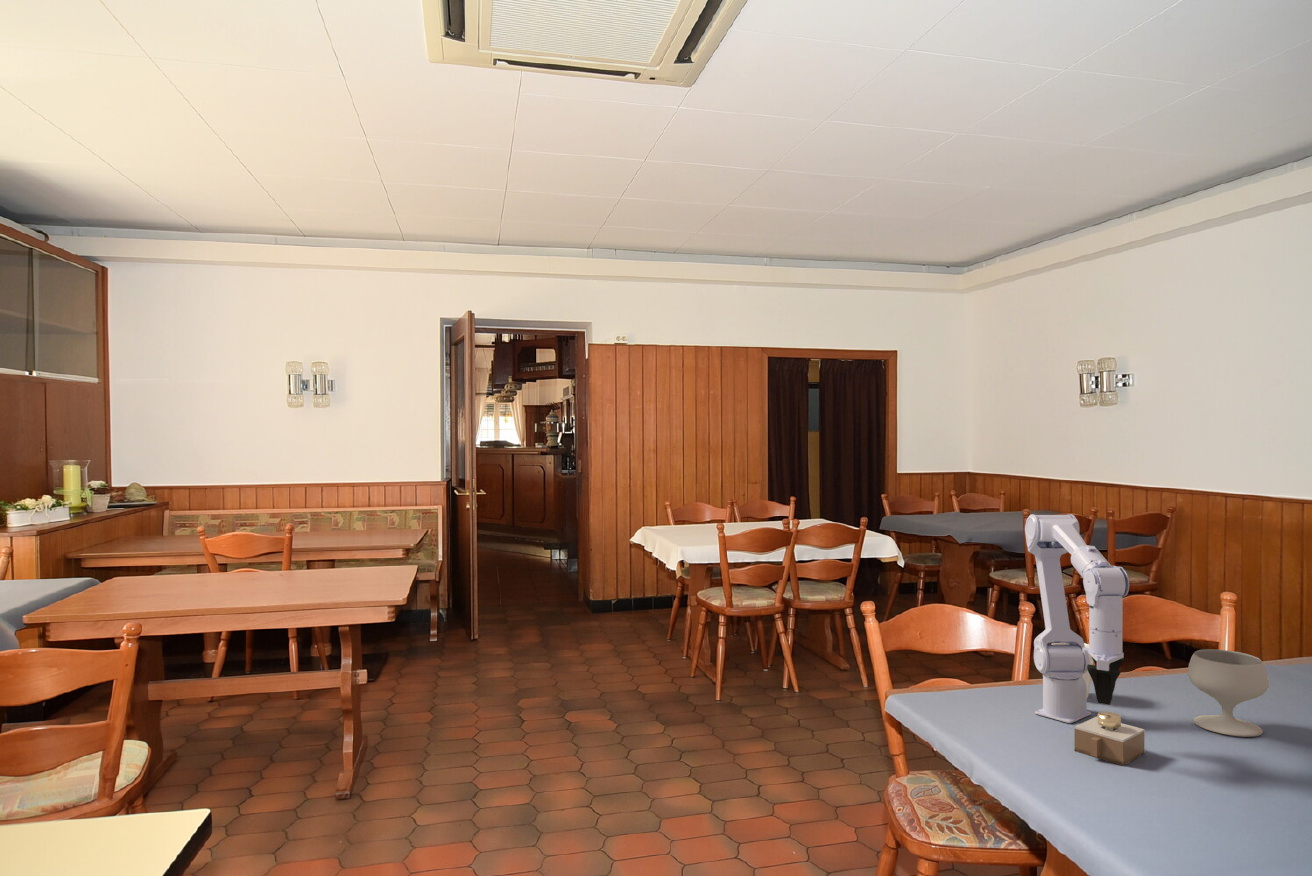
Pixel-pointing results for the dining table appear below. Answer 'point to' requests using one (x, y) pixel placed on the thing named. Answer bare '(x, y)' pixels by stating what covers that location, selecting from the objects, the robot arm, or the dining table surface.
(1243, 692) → the chalice
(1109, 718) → the plunger
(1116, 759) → the tan box
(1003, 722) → the dining table surface
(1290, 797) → the dining table surface
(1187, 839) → the dining table surface
